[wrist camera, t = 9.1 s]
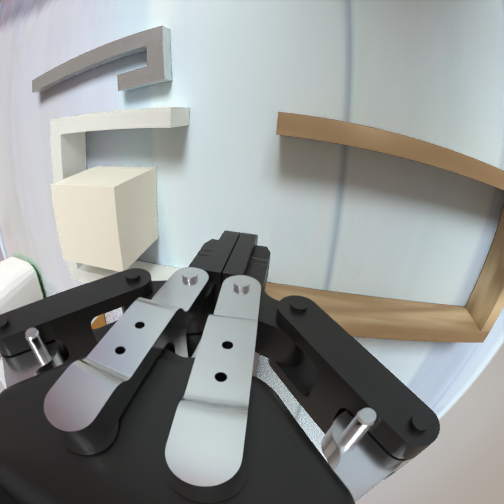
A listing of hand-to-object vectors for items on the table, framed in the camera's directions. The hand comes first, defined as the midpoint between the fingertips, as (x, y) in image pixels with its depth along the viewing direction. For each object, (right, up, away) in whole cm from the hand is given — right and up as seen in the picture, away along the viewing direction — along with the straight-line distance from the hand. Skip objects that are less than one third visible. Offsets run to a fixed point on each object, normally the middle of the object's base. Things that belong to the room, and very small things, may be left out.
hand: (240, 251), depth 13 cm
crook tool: (-11, +13, +3) cm, 18 cm away
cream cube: (-9, +4, +7) cm, 12 cm away
